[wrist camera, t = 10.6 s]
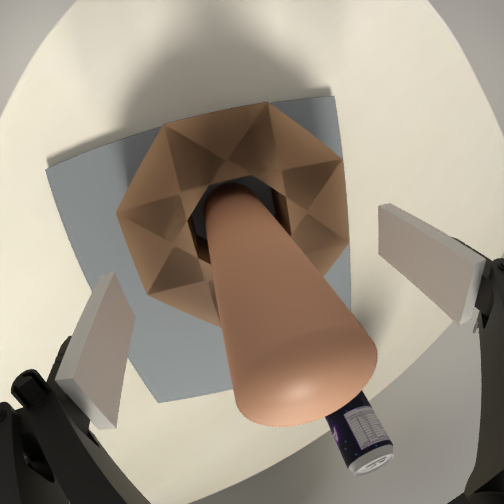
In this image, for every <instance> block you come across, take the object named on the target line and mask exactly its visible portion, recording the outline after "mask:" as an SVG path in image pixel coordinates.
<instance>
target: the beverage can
mask: <svg viewBox="0 0 504 504" xmlns="http://www.w3.org/2000/svg"><path fill="white" fill-rule="evenodd" d="M325 418H326V420H327V422H328V425H329V427H330V429H331V432H332V434H333V436H334V438H335V440H336V443H337V445H338V447H339V450H340V452H341V454H342V457H343V459H344V461H345V463H346V465H347V468H348V469H349V470H351V471H353V472H354V475H355V476H361V475H365V474H368V473H370V472H372V471H374V470H377V469H378V468H380V467H382V466H383V465H385V464H387V463H388V462H389V461H390V460H391V459H392V458H393V457H394V453H393V444H392V442H391V441H390V439H389V437H388V435H387V433H386V431H385V430H384V428H383V426H382V425H381V423H380V421H379V419H378V418H377V416H376V414H375V412H374V410H373V409H372V407H371V405H370V403H369V402H368V400H367V398H366V396H365V395H364V393H363V391H362V390H361V391H360V393H359V394H358V395H357V396H355V397H354V398H353V399H352V400H351V401H350V402H348V403H347V404H346V405H344V406H343V407H341V408H340V409H338V410H337V411H335V412H333V413H331V414H329V415H327V416H325Z"/></svg>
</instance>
